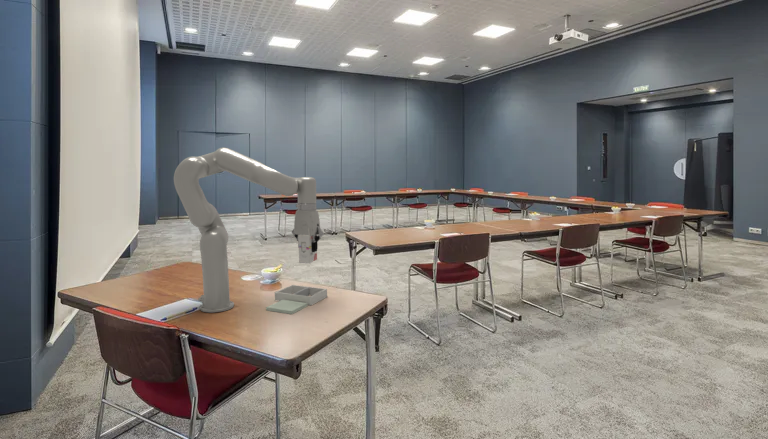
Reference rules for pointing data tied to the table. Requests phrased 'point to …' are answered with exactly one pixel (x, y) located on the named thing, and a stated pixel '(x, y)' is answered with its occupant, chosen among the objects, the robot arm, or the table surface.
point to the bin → (301, 294)
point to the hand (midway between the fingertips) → (307, 250)
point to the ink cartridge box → (306, 249)
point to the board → (286, 306)
